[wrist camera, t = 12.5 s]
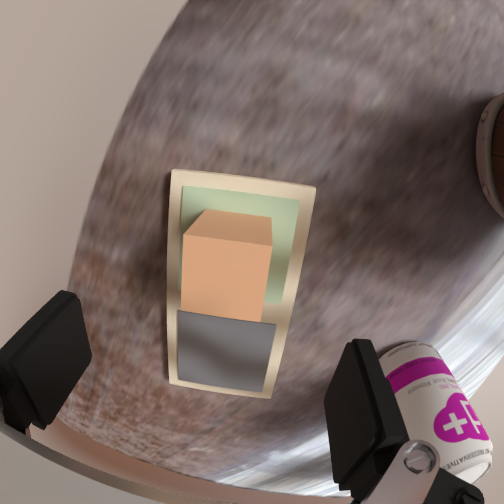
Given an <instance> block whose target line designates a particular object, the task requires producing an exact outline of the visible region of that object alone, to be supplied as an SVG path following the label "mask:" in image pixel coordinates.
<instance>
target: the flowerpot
mask: <svg viewBox="0 0 504 504" xmlns="http://www.w3.org/2000/svg"><path fill="white" fill-rule="evenodd" d="M475 167H476V172H477V177H478V180H479V182H480V185H481V187H482V189H483V193H484V194H485V196H486V198H487V200H488V202H489V203H490V204H491V206H492V207H493V208H494V210H495V211H496V212H497V213H498V214H499V215H500V216H501V217H502V218H504V93H502V94H500V95H498V96H497V97H495V98H494V99H493V100H491V101H490V102H489V104H488V105H487V106H486V107H485V109H484V111H483V113H482V114H481V118H480V121H479V125H478V129H477V137H476V153H475Z"/></svg>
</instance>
